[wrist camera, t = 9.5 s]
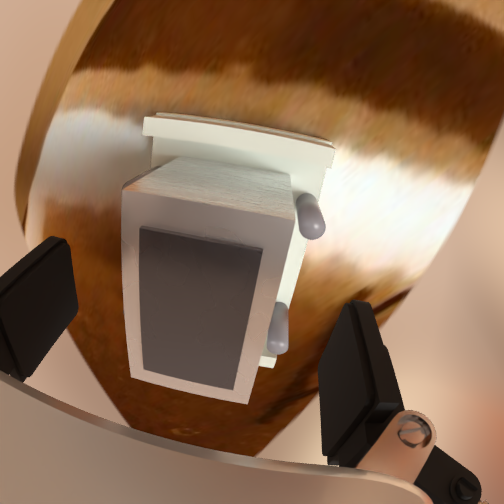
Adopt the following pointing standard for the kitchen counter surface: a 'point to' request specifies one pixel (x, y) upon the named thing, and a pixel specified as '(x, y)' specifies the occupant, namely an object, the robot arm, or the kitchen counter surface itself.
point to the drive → (203, 272)
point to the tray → (263, 157)
